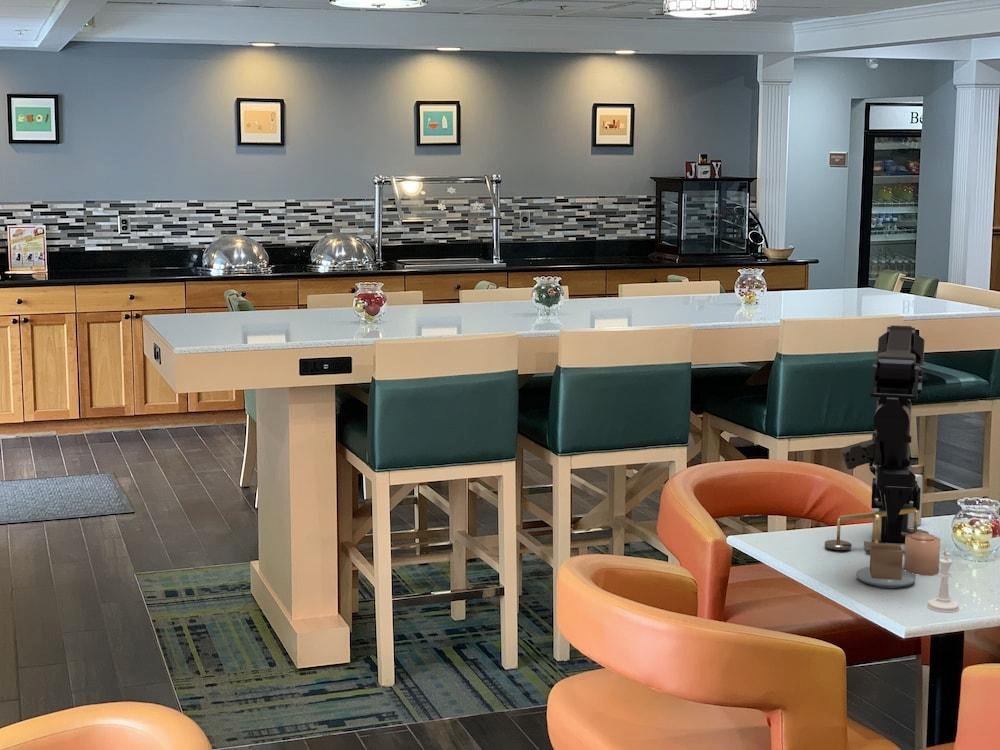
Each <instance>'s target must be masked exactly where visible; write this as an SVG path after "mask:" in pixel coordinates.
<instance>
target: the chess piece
mask: <svg viewBox="0 0 1000 750" xmlns="http://www.w3.org/2000/svg"><path fill="white" fill-rule="evenodd" d="M941 555H943V558H939V567H940V570H941V572H939V573H938V574H937V575H938V576H939V577H941V578H940V579H941V580H940V587H939V590H938V595H937V596H936V598H931V599H930V600H928V601H927V603H928V604H927V607H928V608H929V610H932V611H934V612H939V613H955V612H958V611H959V610H960V608H959V603H957V602H956V601H955V600H952V598H951V597H950V593H949V578H951V577H952V576H953V575H952V573H951V572H949V571H950V568H951V566H952V564H953V561H952V559H950V557H951V553H949V548H944V550H942V551H941ZM928 608H927V609H928Z"/></svg>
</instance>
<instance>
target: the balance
mask: <svg viewBox="0 0 1000 750" xmlns="http://www.w3.org/2000/svg"><path fill="white" fill-rule="evenodd" d="M909 513H915V514H914V527H913V528H908V529H904V530H902V531H901V535H902V536H904V537H906V536H907V535H910V534H913V533H928V534H930V533H929V531H927V530H923V529H919V528H918V526H917V520H918V510H916V508H915V507H914V508H905V509H901V511H900V513H899V515H901V514H909ZM838 516H839V517H838V518H837V522H836V523H837V524H836V525H837V526H836V539H828V540H826V541H824V547H825V548H827V549H830V550H834V551H846V550H847V551H848V550H851V549H852V547H853V546H852V545H853V544H852V543H851V542H849V541H847V540H843V539H842V540H841V527H842V526H841V523H842V522H846V521H854V520H863V519H865V520H866V519H871V518H872V527H871V528H872V532H871V534H872V535H871V541H868V540H867V541H866V540H864V541H863V549H864V552H866V553H865V555H866V554H868V555H867V556H870V549H871V543H885V544H887V543H886V541H881V524H882V517H883V516H887V512H886V511H878V512H873V511H871V512H864V513H854V514H853V513H852V514H843V515H838Z"/></svg>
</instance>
